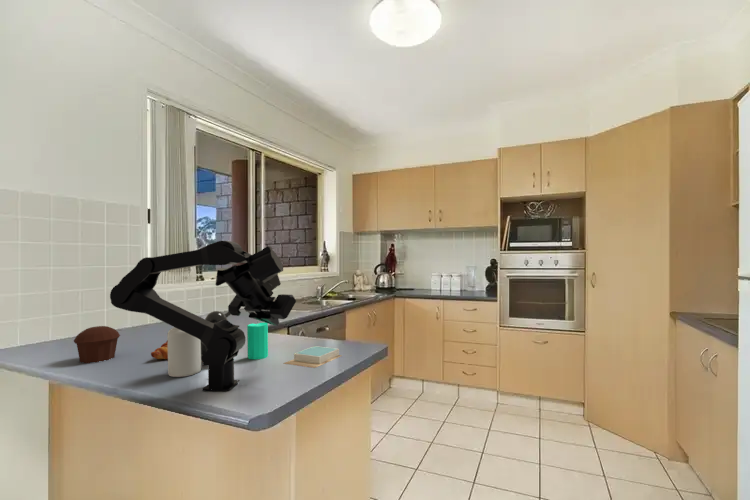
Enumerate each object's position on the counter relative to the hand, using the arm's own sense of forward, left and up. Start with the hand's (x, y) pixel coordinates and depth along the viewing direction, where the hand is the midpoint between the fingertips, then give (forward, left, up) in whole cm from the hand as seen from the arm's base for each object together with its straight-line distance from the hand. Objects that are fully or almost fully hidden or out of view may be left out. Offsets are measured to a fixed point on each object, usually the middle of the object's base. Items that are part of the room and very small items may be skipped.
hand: (277, 324), depth 102 cm
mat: (+10, -8, -13) cm, 18 cm away
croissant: (+20, +36, -13) cm, 43 cm away
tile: (+6, -6, -11) cm, 14 cm away
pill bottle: (-1, +25, -13) cm, 28 cm away
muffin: (+14, +61, -13) cm, 64 cm away
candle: (+13, +10, -13) cm, 21 cm away
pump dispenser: (+9, +21, -13) cm, 26 cm away
